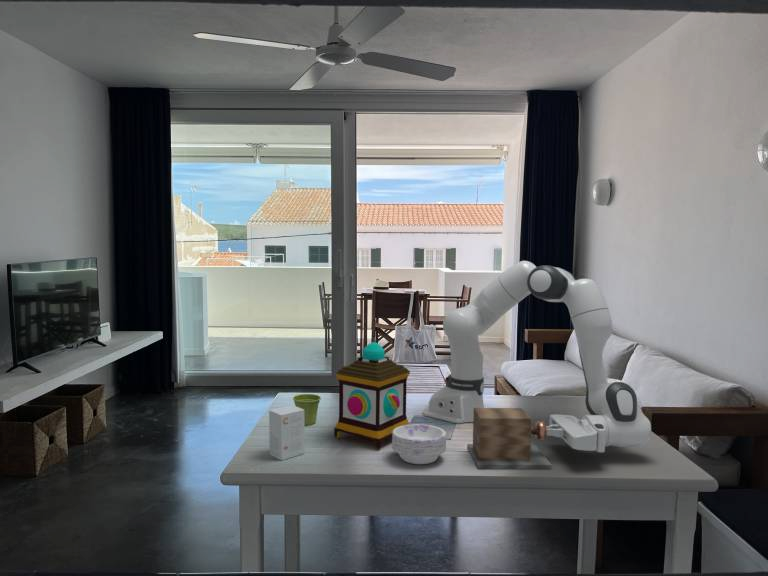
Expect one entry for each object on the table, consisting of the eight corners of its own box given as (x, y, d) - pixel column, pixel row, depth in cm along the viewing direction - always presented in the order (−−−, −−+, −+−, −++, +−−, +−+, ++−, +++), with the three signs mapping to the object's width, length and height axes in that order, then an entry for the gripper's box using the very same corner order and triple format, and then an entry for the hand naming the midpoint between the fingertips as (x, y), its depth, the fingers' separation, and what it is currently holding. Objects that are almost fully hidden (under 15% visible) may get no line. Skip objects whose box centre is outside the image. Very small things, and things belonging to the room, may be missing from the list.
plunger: (540, 435, 162) (540, 418, 161) (546, 442, 155) (547, 425, 155) (481, 435, 161) (481, 418, 161) (485, 442, 155) (486, 425, 155)
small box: (292, 447, 164) (292, 404, 164) (305, 453, 160) (305, 409, 159) (268, 454, 159) (268, 409, 158) (280, 461, 154) (280, 414, 153)
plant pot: (317, 417, 194) (317, 392, 193) (323, 425, 185) (323, 400, 184) (290, 419, 191) (290, 394, 190) (295, 428, 182) (295, 402, 181)
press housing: (533, 447, 167) (535, 405, 166) (551, 469, 151) (553, 422, 150) (467, 447, 166) (468, 404, 165) (478, 469, 150) (479, 421, 149)
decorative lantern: (366, 422, 189) (367, 335, 186) (416, 434, 177) (418, 341, 175) (327, 439, 172) (328, 343, 170) (379, 453, 161) (380, 350, 159)
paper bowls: (427, 445, 168) (428, 419, 167) (456, 463, 154) (457, 435, 154) (382, 453, 161) (382, 426, 160) (408, 473, 147) (408, 443, 147)
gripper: (578, 409, 169) (533, 409, 169) (607, 431, 149) (556, 431, 148) (577, 429, 170) (532, 429, 169) (606, 454, 149) (555, 454, 149)
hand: (543, 430), depth 158 cm, fingers closed, pressing on plunger
